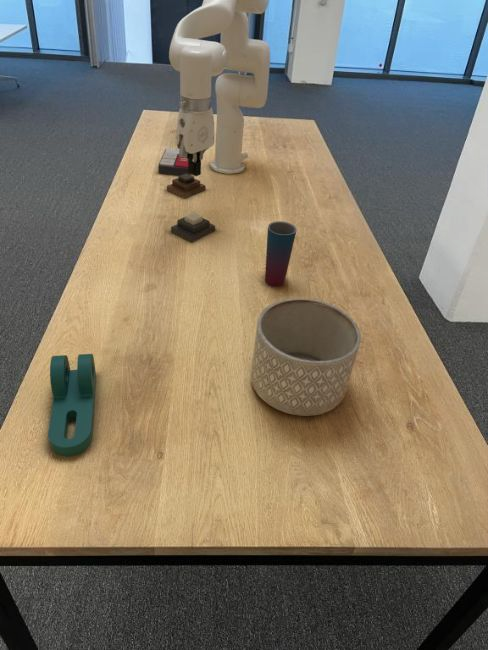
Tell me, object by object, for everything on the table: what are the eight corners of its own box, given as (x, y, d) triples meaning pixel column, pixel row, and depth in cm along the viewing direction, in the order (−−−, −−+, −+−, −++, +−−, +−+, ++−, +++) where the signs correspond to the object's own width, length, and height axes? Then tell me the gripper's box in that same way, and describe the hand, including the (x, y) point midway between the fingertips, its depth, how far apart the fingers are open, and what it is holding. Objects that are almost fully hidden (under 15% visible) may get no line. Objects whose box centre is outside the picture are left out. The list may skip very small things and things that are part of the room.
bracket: (59, 379, 95) (52, 348, 90) (96, 377, 96) (91, 346, 91) (47, 458, 81) (39, 426, 76) (91, 453, 82) (85, 422, 77)
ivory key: (193, 217, 144) (193, 212, 143) (202, 222, 143) (202, 216, 142) (184, 221, 142) (184, 215, 141) (193, 226, 140) (193, 220, 139)
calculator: (157, 163, 173) (165, 146, 184) (158, 175, 175) (165, 157, 187) (189, 166, 173) (195, 149, 184) (189, 178, 176) (195, 160, 187)
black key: (186, 178, 166) (186, 173, 165) (194, 181, 164) (194, 176, 163) (178, 181, 164) (178, 176, 163) (186, 184, 162) (186, 179, 161)
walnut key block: (187, 182, 171) (188, 172, 169) (205, 190, 167) (205, 180, 165) (166, 190, 165) (166, 180, 162) (184, 198, 161) (184, 188, 159)
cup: (291, 277, 129) (299, 225, 120) (284, 291, 124) (292, 237, 115) (265, 271, 131) (272, 218, 121) (257, 284, 126) (264, 230, 116)
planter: (276, 432, 89) (286, 374, 80) (235, 364, 102) (241, 307, 93) (362, 406, 96) (381, 350, 87) (314, 345, 109) (326, 291, 100)
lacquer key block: (194, 221, 149) (195, 210, 147) (215, 230, 146) (215, 219, 144) (170, 232, 143) (170, 221, 141) (191, 242, 139) (191, 231, 137)
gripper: (185, 112, 118) (185, 186, 130) (226, 101, 128) (222, 171, 139) (163, 104, 121) (164, 177, 133) (204, 94, 131) (202, 162, 143)
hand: (194, 173), depth 136 cm, fingers closed
